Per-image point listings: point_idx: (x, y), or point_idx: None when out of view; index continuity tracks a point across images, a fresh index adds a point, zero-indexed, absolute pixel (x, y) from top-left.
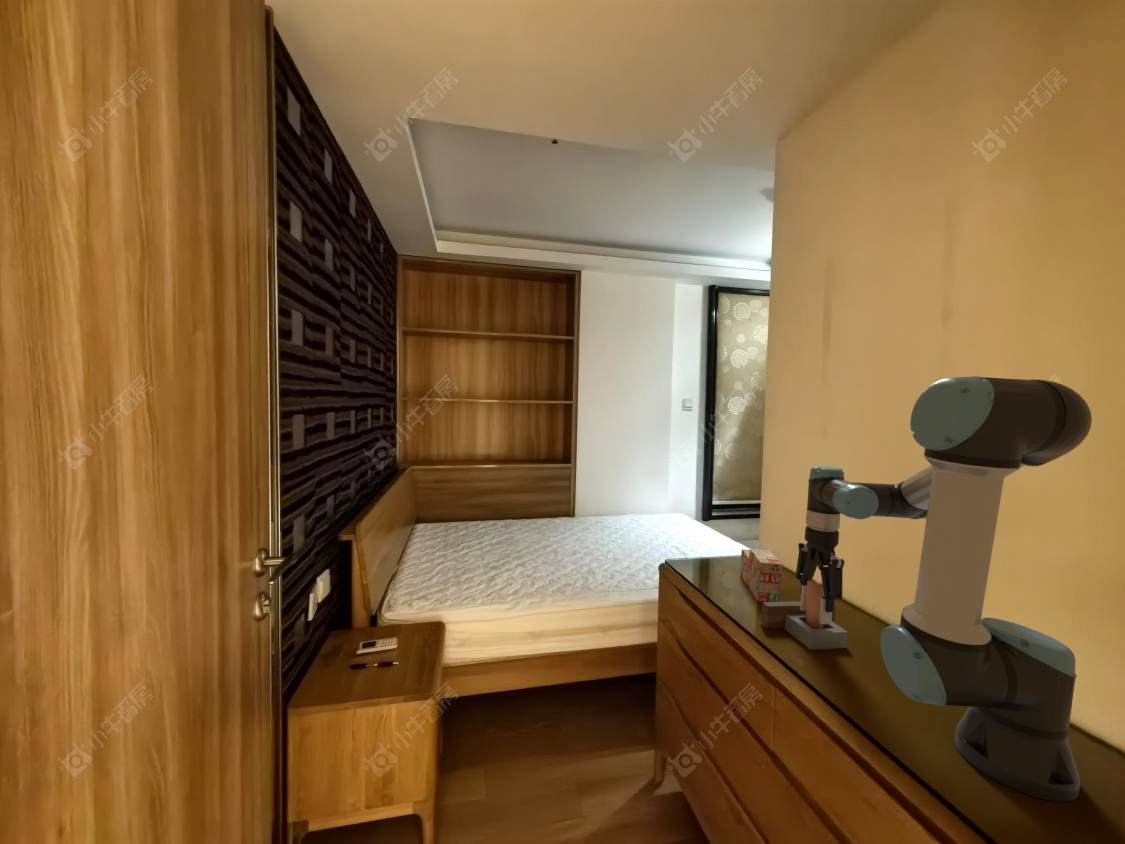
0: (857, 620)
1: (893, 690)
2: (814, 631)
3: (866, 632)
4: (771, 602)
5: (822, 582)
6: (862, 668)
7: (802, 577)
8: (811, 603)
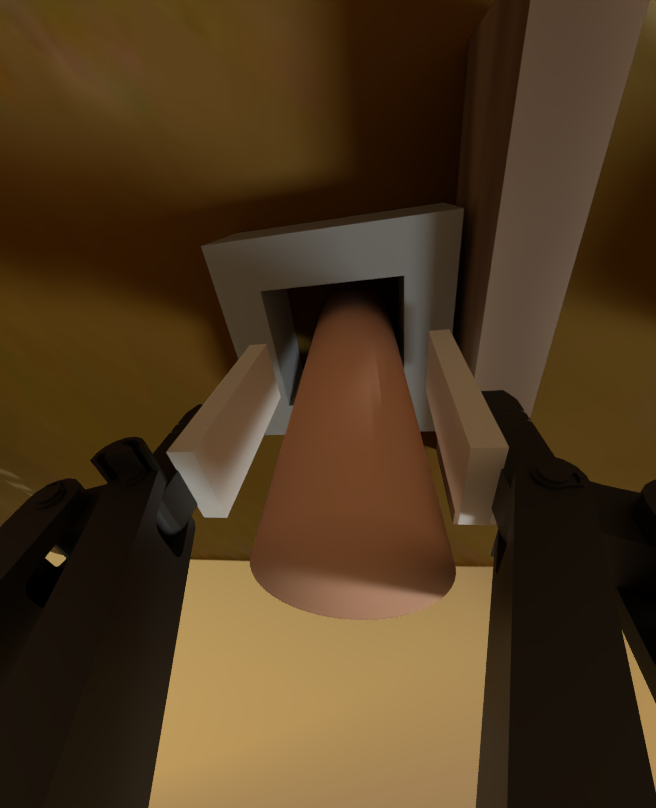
0: (460, 528)
1: (56, 373)
2: (233, 281)
3: None
4: (619, 73)
5: (100, 617)
6: (151, 363)
7: (563, 539)
8: (316, 374)
